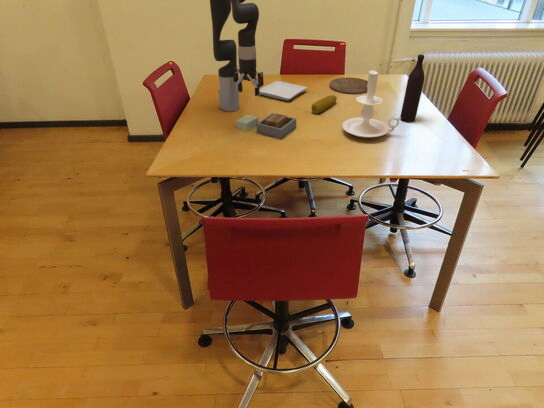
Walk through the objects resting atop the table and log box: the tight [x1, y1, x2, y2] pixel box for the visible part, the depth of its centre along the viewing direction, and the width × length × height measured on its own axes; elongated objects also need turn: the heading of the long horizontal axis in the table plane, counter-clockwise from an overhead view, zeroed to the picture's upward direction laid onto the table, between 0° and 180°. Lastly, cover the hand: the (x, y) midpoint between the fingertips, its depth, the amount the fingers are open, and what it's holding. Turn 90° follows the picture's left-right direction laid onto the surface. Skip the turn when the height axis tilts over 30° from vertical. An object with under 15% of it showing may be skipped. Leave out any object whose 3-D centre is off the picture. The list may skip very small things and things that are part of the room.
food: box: [310, 94, 338, 114], centre depth 195 cm, size 21×6×6 cm, turn 145°
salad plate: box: [259, 80, 308, 101], centre depth 213 cm, size 21×21×3 cm
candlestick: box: [341, 70, 401, 139], centre depth 164 cm, size 21×25×28 cm
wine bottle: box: [399, 54, 425, 123], centre depth 175 cm, size 7×7×30 cm
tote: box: [255, 112, 297, 140], centre depth 174 cm, size 13×14×4 cm
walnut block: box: [266, 112, 288, 129], centre depth 173 cm, size 6×9×5 cm, turn 149°
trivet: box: [329, 77, 368, 95], centre depth 222 cm, size 25×25×2 cm
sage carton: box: [235, 114, 259, 132], centre depth 178 cm, size 6×9×4 cm, turn 145°
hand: (248, 93), depth 170 cm, fingers open, 8 cm apart
